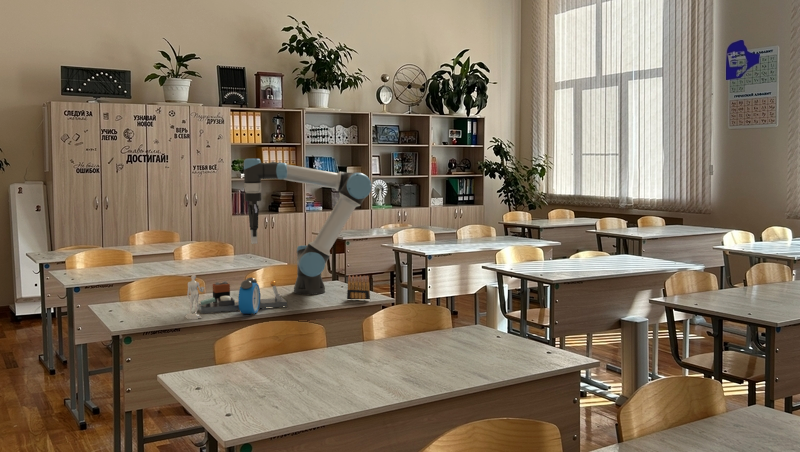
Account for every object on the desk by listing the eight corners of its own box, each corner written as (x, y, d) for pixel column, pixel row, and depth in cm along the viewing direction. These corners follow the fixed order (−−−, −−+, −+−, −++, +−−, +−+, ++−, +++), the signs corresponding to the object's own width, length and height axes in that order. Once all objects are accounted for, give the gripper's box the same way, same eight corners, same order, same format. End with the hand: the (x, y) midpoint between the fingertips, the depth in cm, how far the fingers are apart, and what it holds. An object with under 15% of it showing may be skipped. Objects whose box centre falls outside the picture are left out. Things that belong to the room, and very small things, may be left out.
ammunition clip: (346, 300, 341) (346, 274, 339) (348, 299, 342) (348, 274, 341) (369, 301, 338) (369, 275, 337) (370, 300, 340) (370, 275, 339)
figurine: (205, 315, 309) (203, 272, 308) (206, 318, 303) (205, 275, 301) (184, 316, 307) (183, 274, 305) (185, 320, 300) (183, 276, 298)
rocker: (214, 300, 320) (214, 297, 319) (215, 301, 317) (215, 298, 316) (200, 303, 318) (200, 301, 317) (201, 305, 315) (201, 302, 314)
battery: (230, 303, 332) (230, 282, 331) (215, 305, 329) (215, 283, 327) (227, 302, 336) (226, 280, 335) (212, 303, 332) (212, 281, 331)
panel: (282, 303, 334) (282, 292, 333) (287, 307, 325) (287, 296, 325) (198, 309, 320) (198, 298, 320) (201, 313, 312) (200, 302, 311)
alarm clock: (252, 317, 306) (251, 281, 304) (237, 317, 306) (237, 281, 305) (260, 310, 319) (260, 276, 317) (246, 310, 319) (246, 276, 318)
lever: (279, 296, 330) (274, 279, 328) (280, 297, 327) (275, 280, 326) (274, 298, 329) (269, 281, 327) (275, 299, 326) (270, 282, 325)
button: (230, 302, 323) (229, 295, 322) (231, 304, 319) (231, 297, 318) (219, 302, 321) (219, 296, 321) (221, 304, 317) (221, 298, 317)
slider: (259, 298, 328) (259, 292, 328) (260, 299, 326) (260, 293, 326) (255, 299, 328) (255, 292, 327) (256, 300, 326) (256, 293, 325)
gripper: (242, 191, 341) (243, 242, 344) (247, 193, 330) (248, 245, 332) (258, 191, 344) (259, 241, 347) (264, 192, 332) (265, 244, 335)
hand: (254, 243), depth 339 cm, fingers closed
